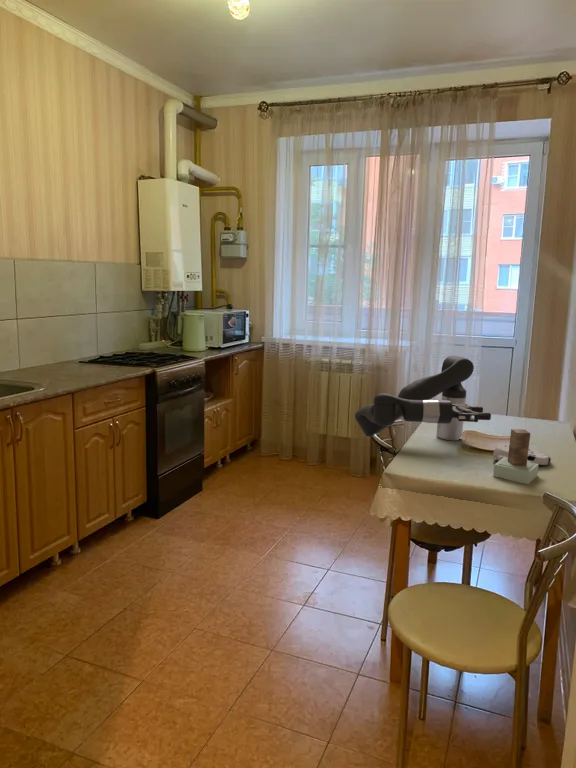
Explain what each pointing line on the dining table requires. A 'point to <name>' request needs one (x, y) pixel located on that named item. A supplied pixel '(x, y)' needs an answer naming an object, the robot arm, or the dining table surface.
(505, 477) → the stand
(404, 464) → the dining table surface
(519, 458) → the block
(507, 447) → the toy
